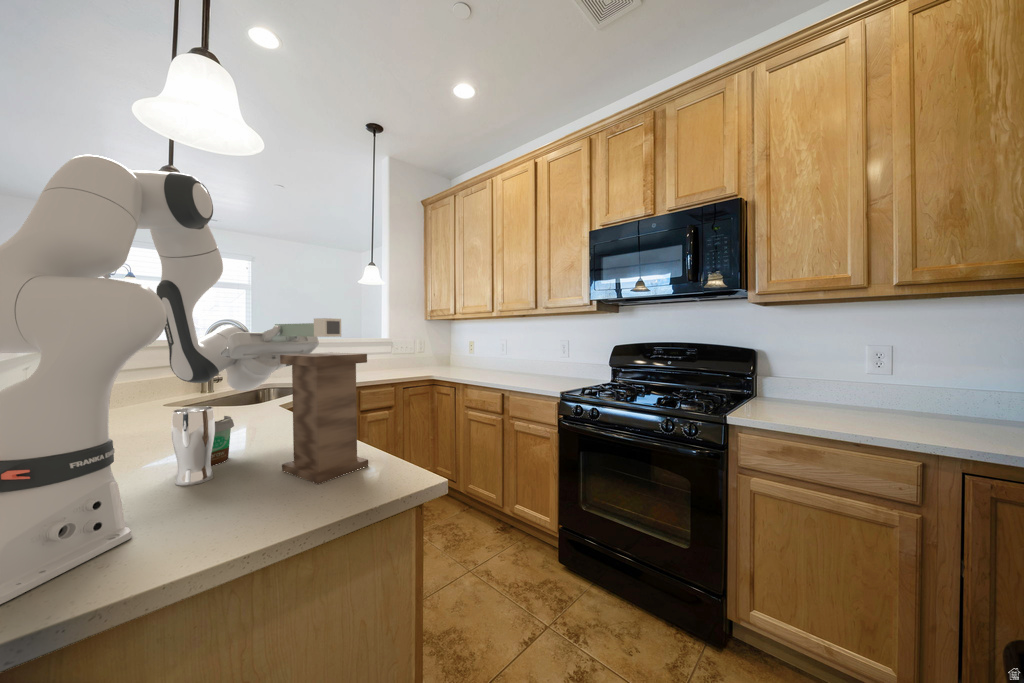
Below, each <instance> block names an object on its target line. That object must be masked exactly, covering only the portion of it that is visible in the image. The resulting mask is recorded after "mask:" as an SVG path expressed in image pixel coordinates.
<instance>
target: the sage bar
mask: <svg viewBox="0 0 1024 683" xmlns="http://www.w3.org/2000/svg"><path fill="white" fill-rule="evenodd" d="M274 326H282V329H283V333H281V335H276V336H304V337H317V338H321V337H322V338H326V337H327V338H329V337H330V338H332V337H334V338H335V337H336V338H337V337H342V319H341V318H327V317H326V318H325V317H322V318H321V317H320V318H319V317H318V318H316V317H315V318H313V322H312V323H311V322H309V323H308V322H307V323H275V324H274Z"/></svg>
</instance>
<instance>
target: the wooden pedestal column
mask: <svg viewBox="0 0 1024 683" xmlns="http://www.w3.org/2000/svg"><path fill="white" fill-rule="evenodd" d="M366 363H368V354H367V353H360V352H359V353H355V352H354V353H351V352H332V351H331V352H330V351H328V352H311V353H308V354H287V355H280V364H289V365H290V366H291V372H292V373H291V376H292V377H291V381H292V385H291V386H292V390H291V391H292V430H293V432H292V434H293V435H292V436H293V437H292V438H293V441H292V442H293V460H291V461H288V462H283V463H281V470H282V471H281V472H283V471H285V472H284V473H286V472H288V473H287V474H289V473H290V474H289V475H291V474H293V475H292V476H294V475H296V476H295V477H297V476H298V477H297V478H299V477H301V478H300V479H302V478H303V480H305V479H306V480H305V481H308V480H309V481H308V482H310V481H311V482H310V483H313V482H314V483H313V484H316V483H317V484H316V485H319V483H320V484H323V483H325V481H326V482H328V480H329V481H331V480H330V479H332V480H334V479H336V478H335V477H337V478H339V477H338V476H340V477H342V476H341V475H343V474H346V473H349V472H351V473H353V472H352V471H354V472H356V471H355V470H357V469H360V468H363V467H366V466H368V467H369V459H368V458H364V457H362V456H358V430H357V429H358V427H357V426H358V425H357V424H358V420H357V419H358V418H357V417H358V415H357V411H358V409H357V364H366ZM366 468H367V467H366ZM363 469H364V468H363ZM360 470H361V469H360ZM357 471H358V470H357ZM349 474H350V473H349ZM346 475H347V474H346ZM343 476H344V475H343ZM333 478H334V479H333ZM322 482H323V483H322Z"/></svg>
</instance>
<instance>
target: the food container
mask: <svg viewBox="0 0 1024 683" xmlns="http://www.w3.org/2000/svg"><path fill="white" fill-rule="evenodd" d="M234 427H235V423H234V419H232V417H231V416H229V415H224V416H223V419H220V420H216V421H215V435H214V442H213V447H212V452H211V467H214V466H217V465H216V464H218V465H220V464H219V463H221V464H223V463H225V462H227V461H228V460H229V457H230V456H229V453H230V443H231V442H230V441H231V433H232V432H231V429H232V428H234ZM227 459H228V460H227ZM226 460H227V461H226ZM224 461H225V462H224ZM222 462H223V463H222ZM213 465H214V466H213Z"/></svg>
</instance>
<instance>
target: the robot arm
mask: <svg viewBox="0 0 1024 683" xmlns="http://www.w3.org/2000/svg"><path fill="white" fill-rule="evenodd" d="M213 214H214V206H213V200H212V197H211V195H210V192H209V190H208V189H207V187H206V185H205V184H204V183H203V182H202V181H200V180H198V178H197V177H195V176H193V175H190V174H187V173H186V174H185V173H181V172H175V171H171V172H162V171H153V170H136V169H128V168H127V167H126V166H124V165H123V164H121V163H119V162H118V161H115V160H113V159H111V158H107V157H104V156H99V155H95V154H94V155H92V154H83V155H82V154H81V155H77V156H74V157H72V158H70V159H68V161H67V162H65V163H64V164H63V165H62V166H61V167H59V169H58V170H57V171H56V172H55V173H54V174H53V175H52V176H51V177H50V179H49V181H47V183H46V184H45V186H44V188H43V190H42V191H41V193H40V194H39V197H38V199H37V200H36V201H35V204H34V206H33V208H32V209H31V211H30V213H29V214H28V216H27V218H25V220H24V222H23V224H22V225H21V227H20V228H19V229H18V230H17V232H16V233H14V235H12V236H11V237H10V238H9V239H8V240H5V241H4V243H2V244H0V354H22V353H23V354H26V353H27V354H29V353H34V354H35V353H38V354H39V353H41V354H40V355H41V356H40V361H39V363H38V365H37V368H36V369H35V370H34V372H33V373H32V374H31V375H30V376H29V377H28V378H25V379H23V380H21V381H17V382H15V383H13V384H11V385H9V386H7V387H4V388H3V389H1V390H0V605H2V604H4V603H6V602H8V601H11V600H13V599H14V598H16V597H18V596H20V595H22V594H24V593H25V592H28V591H29V590H32V589H34V588H36V587H38V586H40V585H42V584H44V583H46V582H48V581H50V580H51V579H52V580H53V578H55V577H57V576H59V575H61V574H64V573H65V572H67V571H70V570H72V569H73V568H76V567H77V566H79V565H81V564H83V563H85V562H87V561H89V560H91V559H93V558H95V557H96V556H99V555H101V554H103V553H105V552H106V551H109V550H111V549H113V548H114V547H116V546H119V545H120V544H122V543H125V542H126V541H128V540H131V538H132V537H133V533H132V530H131V528H129V527H128V525H127V522H126V520H125V516H124V511H123V503H122V498H121V493H120V488H119V484H118V482H117V480H116V479H115V477H114V476H115V475H113V471H112V468H111V465H112V464H113V463H114V462H115V447H114V441H113V439H111V438H110V435H109V434H110V431H109V430H110V429H109V428H110V426H109V423H110V420H109V419H110V402H111V400H110V399H111V394H112V390H113V386H114V384H115V381H116V379H117V377H118V375H119V374H120V372H121V370H122V369H123V368H124V366H125V365H126V364H127V363H128V361H130V359H132V358H133V357H134V356H135V355H136V354H138V353H139V352H140V351H142V350H143V349H146V348H147V347H148V346H150V345H152V344H153V343H155V341H156V340H158V338H159V337H160V336H161V335H162V333H163V332H165V337H166V340H167V346H168V351H169V354H168V355H169V366H170V370H171V371H172V373H173V374H174V375H175V376H176V377H177V378H178V379H180V380H182V381H183V382H187V383H195V384H206V383H208V382H210V381H211V380H212V379H213V378H215V377H216V376H217V375H219V374H220V373H221V372H223V371H224V370H225V371H226V381H227V382H226V383H227V385H228V386H229V387H230V388H232V389H233V390H235V391H240V392H247V391H252V390H255V389H256V388H258V387H260V386H261V385H262V384H264V383H265V382H266V381H267V380H268V379H269V378H270V377H271V375H272V374H273V373H274V372H275V371H279V370H281V369H283V368H286V367H291V365H289V364H280V355H287V354H308V353H313V352H314V351H315V350H316V349H317V347H318V346H319V344H320V341H319V337H304V336H276V335H281V333H283V329H282V326H275V325H273V327H272V328H271V329H267V330H266V331H264V332H261V331H258V332H256V331H255V332H249V331H247V330H246V329H245V328H244V329H243V328H242V327H240V326H236V325H233V324H225V325H223V326H220V327H218V328H217V329H215V330H212V331H211V332H209V333H207V334H205V335H203V336H202V337H199V338H198V335H197V331H196V327H195V322H194V317H193V312H194V308H195V306H196V304H197V303H198V301H200V299H201V298H202V297H203V295H204V294H206V292H208V291H209V290H210V289H211V288H212V287H213V286H214V285H216V284H217V283H218V281H219V280H220V278H221V276H222V275H223V271H224V265H223V257H222V255H221V252H220V250H219V247H218V244H217V242H216V239H215V237H214V235H213V232H212V231H211V229H210V227H209V225H208V224H209V223H210V221H211V219H212V217H213ZM138 229H139V230H146V229H147V230H149V231H150V235H151V239H152V242H153V244H154V247H155V250H156V253H157V254H158V257H159V259H160V264H161V278H160V281H159V283H158V285H157V286H156V291H154V290H153V289H152V288H150V286H147V285H145V284H140V283H136V282H135V283H134V282H129V281H125V280H118V279H113V278H107V277H105V276H107V275H110V274H112V273H114V272H115V271H118V270H119V269H120V268H122V266H123V265H124V264H125V263H126V261H127V259H128V258H129V253H130V251H131V247H132V245H133V242H134V239H135V236H136V233H137V230H138Z"/></svg>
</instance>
